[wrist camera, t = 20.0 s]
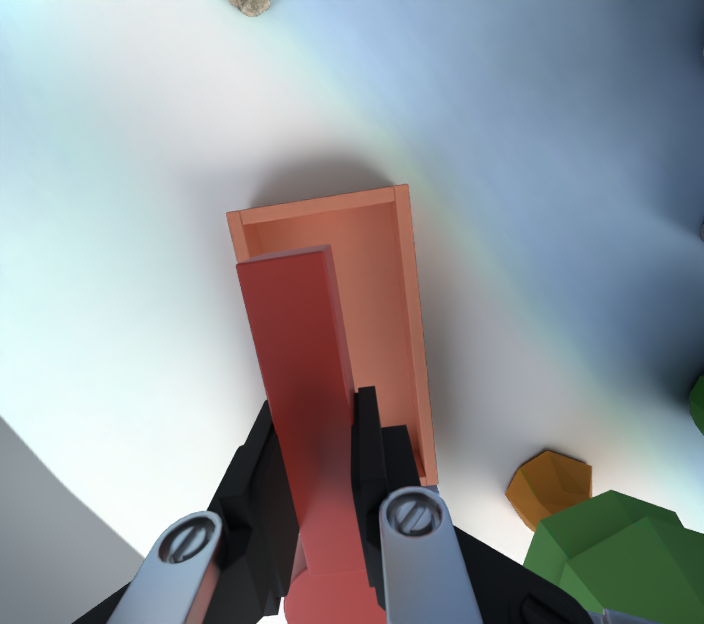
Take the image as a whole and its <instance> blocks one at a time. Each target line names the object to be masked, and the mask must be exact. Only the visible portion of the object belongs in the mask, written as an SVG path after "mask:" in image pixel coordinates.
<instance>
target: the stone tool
mask: <svg viewBox="0 0 704 624" xmlns="http://www.w3.org/2000/svg"><path fill="white" fill-rule="evenodd" d="M228 2H229V3H230V4H231V5H233V6H235V7H237V8H238V9H239V10H240V11H241V12H243V13H244V14H245V15H247V16H250V17H254V16H258V15H260V14H261V13H263V12H264V11H266V10H267V9H268V8H269V7H270V0H228Z"/></svg>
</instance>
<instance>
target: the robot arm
mask: <svg viewBox="0 0 704 624" xmlns="http://www.w3.org/2000/svg"><path fill="white" fill-rule="evenodd" d="M350 476H351V488H352V495H353V501H354V506H355V511H356V517H357V522H358V528H359V533H360V539H361V544H362V549H363V555H364V560H365V566H366V571H367V577H368V582H369V587H370V588H372V587H375V591H376V597H377V602H378V605H379V606H380V607H381V608H382V609H383V610H384V611H385V612H386V619H387V624H662V623H658V622H655V621H651V620H647V619H644V618H640V617H636V616H632V615H629V614H625V613H621V612H618V611H614V610H610V609H607V608H603V615H602V614H599V613H595V612H591V611H588V610H585V609H584V608H583V607H582V606H581V604H580V603H579V602H578V601H577V600H576V599H575V598H573V597H572V596H571V595H569V594H568V593H567V592H565V591H564V590H563V589H561V588H559V587H558V586H556V585H554V584H553V583H551V582H549V581H548V580H546V579H544V578H542V577H541V576H539V575H537V574H536V573H534V572H532V571H531V570H529V569H527V568H525V567H524V566H522V565H520V564H519V563H517V562H515V561H513V560H512V559H510V558H508V557H507V556H505V555H503V554H502V553H500V552H498V551H496V550H495V549H493V548H491V547H490V546H488V545H486V544H485V543H483V542H481V541H479V540H478V539H476V538H474V537H473V536H471V535H469V534H467V533H466V532H464V531H462V530H461V529H459V528H457V527H456V526H454V525H453V524H452V520H451V517H450V514H449V511H448V508H447V506H446V504H445V502H444V500H443V499H442V498H441V497H440V496H439V495H438V494H436V493H435V492H433V491H431V490H429V489H426V488H422V486H421V482H420V478H419V474H418V470H417V466H416V462H415V458H414V454H413V450H412V445H411V441H410V437H409V433H408V429H407V425H406V424H405V425H397V426H389V427H381V422H380V415H379V408H378V402H377V395H376V388H375V386H367V387H360V388H358V392H357V393H354V424H353V425H351V469H350ZM299 531H300V528H299V524H298V520H297V515H296V511H295V507H294V503H293V498H292V494H291V490H290V486H289V481H288V477H287V473H286V469H285V464H284V460H283V456H282V452H281V447H280V443H279V439H278V435H276V433H275V429H274V425H273V420H272V416H271V412H270V408H269V404H268V400H266V401H265V402H264V404H263V406H262V408H261V410H260V412H259V414H258V417H257V419H256V421H255V423H254V425H253V427H252V429H251V431H250V433H249V435H248V437H247V440H246V442H245V444H244V445H241V446H239V448H238V449H237V451H236V453H235V455H234V457H233V459H232V461H231V463H230V465H229V467H228V469H227V471H226V473H225V475H224V477H223V479H222V481H221V483H220V485H219V487H218V489H217V491H216V493H215V495H214V497H213V499H212V501H211V503H210V505H209V507H208V509H207V511H200V512H195V513H191V514H189V515H187V516H185V517H183V518H181V519H179V520H178V521H176V522H175V523H173V524H172V525H170V526H169V527H168V528H167V529H166V530H165V531H164V532H163V533H162V534H161V535H160V537H159V538H158V539H157V541H156V542H155V544H154V545H153V547H152V549H151V550H150V552H149V554H148V555H147V557H146V559H145V560H144V562H143V564H142V565H141V567H140V568H139V570H138V572H137V573H136V575H135V577H134V579H133V580H132V581H131V582H129V583H128V584H126V585H125V586H124V587H122V588H121V589H120V590H118V591H117V592H115V593H114V594H112V595H111V596H110V597H108V598H107V599H105V600H104V601H103V602H101V603H100V604H98V605H97V606H96V607H94V608H93V609H91V610H90V611H89V612H87V613H86V614H85V615H83V616H81V617H80V618H79V619H77V620H76V621H75V622H73V623H72V624H256V623H257V622H258V621H259V620H260V619H261V618H262V617H263V616H272V615H278V611H279V606H280V601H281V597H286V596H287V595H288V593H289V588H290V582H291V576H292V571H293V565H294V559H295V554H296V548H297V542H298V536H299Z"/></svg>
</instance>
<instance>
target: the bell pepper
mask: <svg viewBox="0 0 704 624" xmlns="http://www.w3.org/2000/svg"><path fill="white" fill-rule="evenodd" d="M689 401H690V413H691V416H692V418H693V420H694V422H695V424H696V426H697V427H698V428H699V430H700V431H701V433H702V434H703V435H704V374H703V375H701V376H700V377H699V379H698V380H697V382H696V384H695V386H694V387H693V389H692V391H691V392H690V394H689Z"/></svg>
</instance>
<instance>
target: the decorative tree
mask: <svg viewBox="0 0 704 624" xmlns="http://www.w3.org/2000/svg"><path fill="white" fill-rule="evenodd" d="M505 495H506V496H507V498H508V499H509V501H510V502H511V504H512V505H513V507H514V508H515V510H516V511H517V513H518V514H519V516H520V517H521V519H522V520H523V522H524V523H525V525H526V526H527V527H529V528H530V529H531V530H532V531H533V532H534V533H535V534H534V536H533V539H532V542H531V544H530V547H529V550H528V552H527V555H526V558H525V561H524V563H523V566H524V567H525V568H527V569H529V570H531V571H532V572H534V573H536V574H537V575H539V576H541V577H542V578H544V579H546V580H548V581H549V582H551V583H553V584H554V585H556V586H558V587H559V588H561V589H563V590H564V591H565V592H567V593H568V594H569V595H571V596H572V597H573V598H575V599H576V600H577V601H578V602H579V603H580V604H581V606H582V607H583V608H584V609H585V610H588V611H591V612H595V613H599V614H602V615H603V608H607V609H610V610H614V611H618V612H621V613H625V614H629V615H632V616H636V617H640V618H644V619H647V620H651V621H655V622H658V623H662V624H704V534H702V533H699V532H696V531H693V530H690V529H686V528H684V527H683V525H682V523H681V521H680V520H679V518H678V516H677V514H676V513H675V512H673V511H671V510H668V509H665V508H662V507H659V506H656V505H653V504H651V503H648V502H645V501H642V500H639V499H636V498H634V497H631V496H628V495H625V494H622V493H619V492H616V491H614V490H609V491H607V492H605V493H602V494H600V495H598V496H595V497H593V498H592V466H590V465H587V464H584V463H581V462H579V461H576V460H573V459H570V458H567V457H565V456H562V455H559V454H556V453H553V452H551V451H548V450H547V451H545V452H544V453H542V454H541V455H539V456H538V457H536V458H534V459H533V460H531V461H530V462H528V463H526V464H525V465H523V466H522V467H520V468H519V469H518V471H517V473H516V474H515V476H514V478H513V480H512V482H511V484H510V486H509V488H508V489H507V491H506V493H505Z"/></svg>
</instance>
